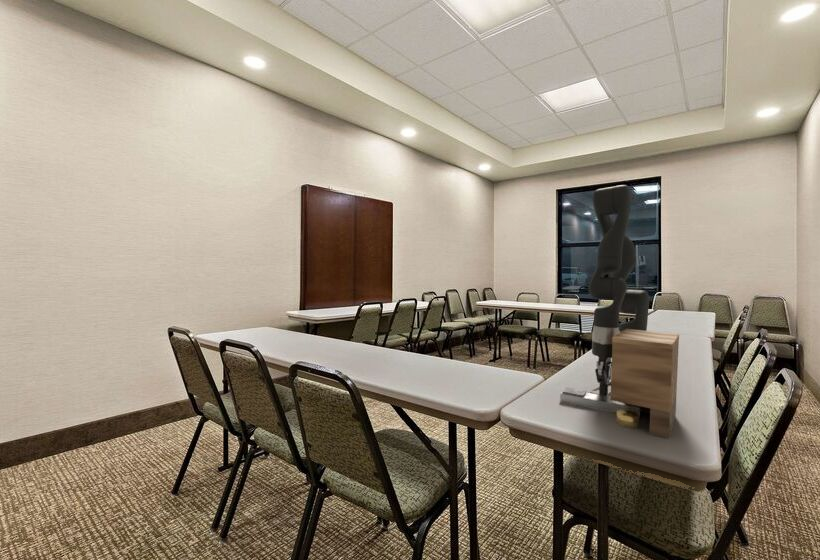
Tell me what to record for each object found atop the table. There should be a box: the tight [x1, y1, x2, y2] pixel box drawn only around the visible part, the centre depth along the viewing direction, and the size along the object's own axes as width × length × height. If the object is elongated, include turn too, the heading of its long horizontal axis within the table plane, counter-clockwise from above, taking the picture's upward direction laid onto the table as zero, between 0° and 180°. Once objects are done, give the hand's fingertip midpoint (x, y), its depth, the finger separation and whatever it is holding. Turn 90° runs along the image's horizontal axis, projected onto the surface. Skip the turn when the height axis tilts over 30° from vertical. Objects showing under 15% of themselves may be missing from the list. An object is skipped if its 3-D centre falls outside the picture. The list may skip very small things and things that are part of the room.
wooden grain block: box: [610, 329, 680, 440], centre depth 104 cm, size 19×13×23 cm
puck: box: [615, 410, 639, 429], centre depth 102 cm, size 5×5×3 cm
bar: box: [559, 387, 642, 419], centre depth 115 cm, size 6×21×4 cm, turn 56°
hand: (603, 395), depth 121 cm, fingers closed
